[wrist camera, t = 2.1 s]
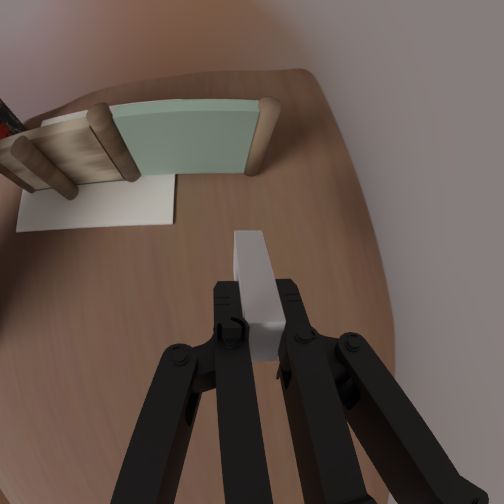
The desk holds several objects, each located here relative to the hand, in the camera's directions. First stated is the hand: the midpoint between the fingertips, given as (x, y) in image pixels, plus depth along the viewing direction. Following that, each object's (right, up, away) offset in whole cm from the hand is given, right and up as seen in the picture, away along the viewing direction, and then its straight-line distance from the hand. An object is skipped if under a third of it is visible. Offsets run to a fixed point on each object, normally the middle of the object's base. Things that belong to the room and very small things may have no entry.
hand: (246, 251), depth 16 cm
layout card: (-19, +11, +12) cm, 25 cm away
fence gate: (-5, +9, +13) cm, 17 cm away
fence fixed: (-21, +8, +11) cm, 25 cm away
